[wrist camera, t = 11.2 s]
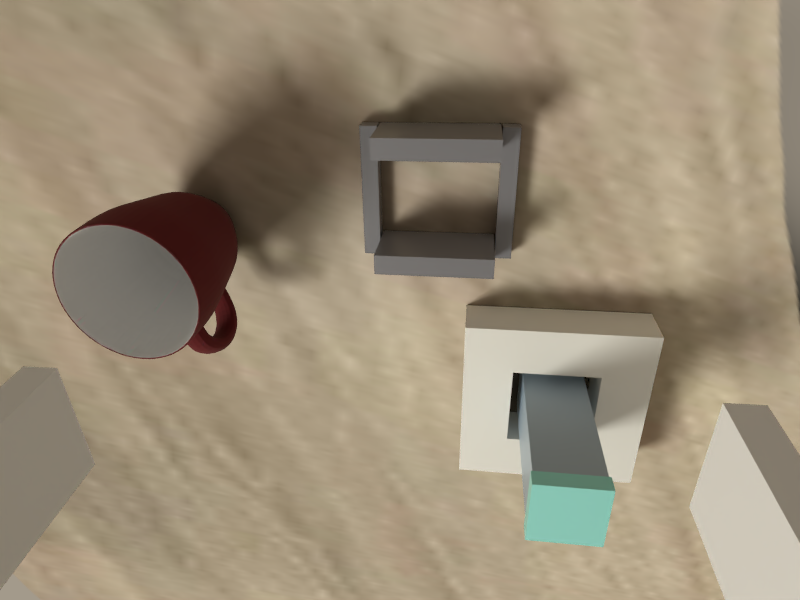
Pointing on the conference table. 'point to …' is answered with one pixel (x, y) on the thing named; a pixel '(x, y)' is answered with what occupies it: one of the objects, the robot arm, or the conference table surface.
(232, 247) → the mug
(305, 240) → the conference table surface
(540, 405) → the plug
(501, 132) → the holster
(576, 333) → the frame
